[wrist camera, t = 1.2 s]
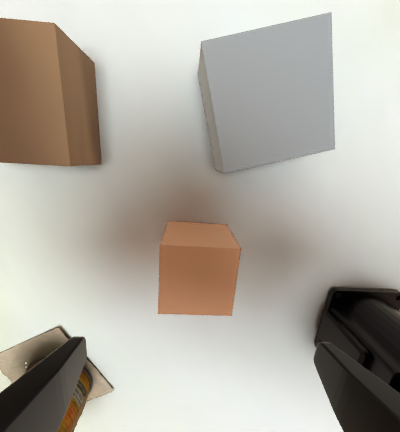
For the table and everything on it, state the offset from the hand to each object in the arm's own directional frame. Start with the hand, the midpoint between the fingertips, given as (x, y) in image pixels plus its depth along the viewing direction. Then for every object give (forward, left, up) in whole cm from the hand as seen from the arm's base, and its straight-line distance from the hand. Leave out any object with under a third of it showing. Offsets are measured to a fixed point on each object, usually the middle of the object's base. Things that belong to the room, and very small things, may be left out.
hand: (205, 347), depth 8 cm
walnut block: (+10, -9, -9) cm, 16 cm away
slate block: (-3, -10, -9) cm, 14 cm away
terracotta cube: (0, 0, -9) cm, 9 cm away
